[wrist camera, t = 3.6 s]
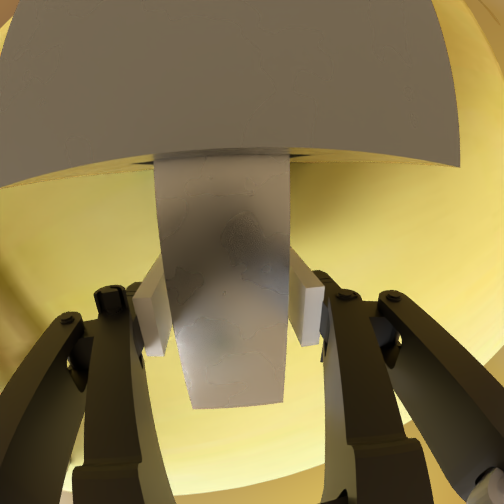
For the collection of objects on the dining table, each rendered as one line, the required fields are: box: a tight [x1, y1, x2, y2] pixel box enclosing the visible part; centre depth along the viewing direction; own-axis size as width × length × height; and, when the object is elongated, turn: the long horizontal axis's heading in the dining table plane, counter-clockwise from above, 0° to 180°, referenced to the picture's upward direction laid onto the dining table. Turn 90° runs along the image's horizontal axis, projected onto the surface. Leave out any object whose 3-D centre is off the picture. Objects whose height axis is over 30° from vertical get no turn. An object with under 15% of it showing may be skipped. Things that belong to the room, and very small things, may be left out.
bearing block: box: [0, 0, 460, 189], centre depth 10 cm, size 8×12×13 cm, turn 91°
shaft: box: [154, 154, 290, 409], centre depth 8 cm, size 26×4×4 cm, turn 1°
